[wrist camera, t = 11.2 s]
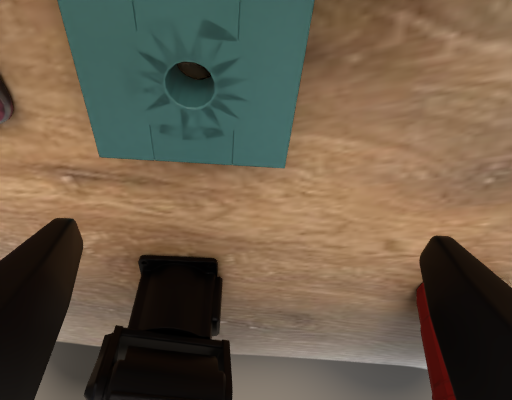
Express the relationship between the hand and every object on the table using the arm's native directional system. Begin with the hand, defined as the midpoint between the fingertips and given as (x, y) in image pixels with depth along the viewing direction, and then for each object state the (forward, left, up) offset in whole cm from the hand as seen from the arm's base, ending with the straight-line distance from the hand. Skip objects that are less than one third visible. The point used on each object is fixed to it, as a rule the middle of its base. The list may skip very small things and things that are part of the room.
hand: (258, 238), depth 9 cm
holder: (-3, -1, -13) cm, 13 cm away
